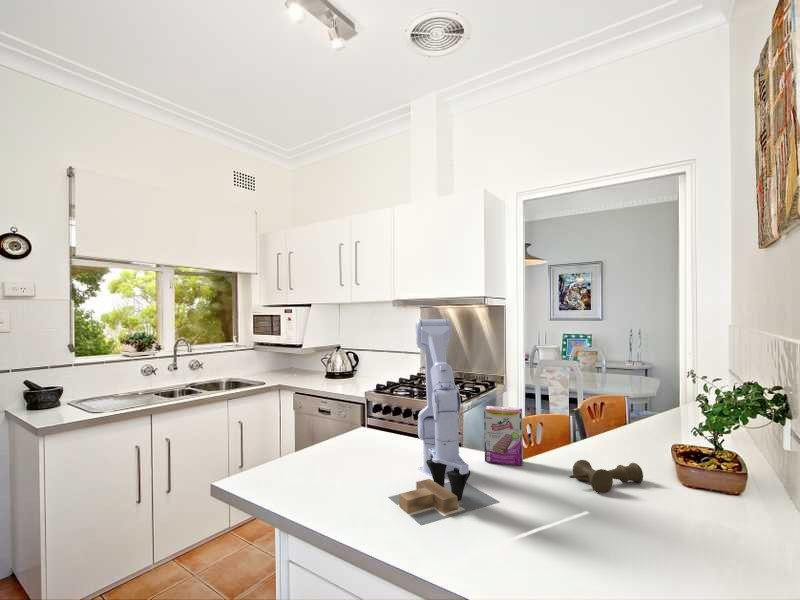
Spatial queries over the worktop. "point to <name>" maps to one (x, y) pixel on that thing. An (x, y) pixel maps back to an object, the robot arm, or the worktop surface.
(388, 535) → the worktop surface
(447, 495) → the t block
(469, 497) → the mat
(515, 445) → the candy bar box
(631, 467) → the kendama
